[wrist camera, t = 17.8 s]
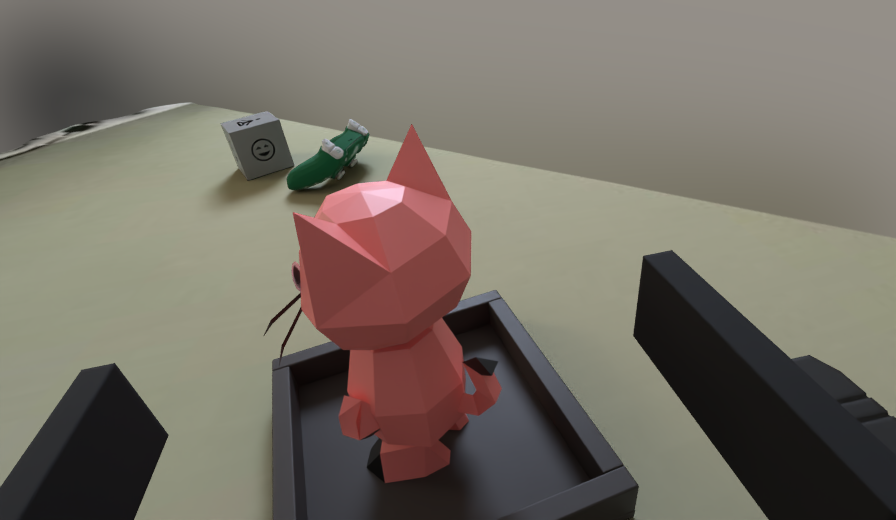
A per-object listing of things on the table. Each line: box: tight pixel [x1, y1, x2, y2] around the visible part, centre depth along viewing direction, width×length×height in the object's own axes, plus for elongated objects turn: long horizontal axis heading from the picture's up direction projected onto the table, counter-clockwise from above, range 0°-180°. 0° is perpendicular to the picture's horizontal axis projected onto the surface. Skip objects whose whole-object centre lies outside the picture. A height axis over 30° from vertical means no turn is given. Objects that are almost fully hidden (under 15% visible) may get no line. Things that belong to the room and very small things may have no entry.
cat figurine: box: [264, 124, 502, 483], centre depth 16 cm, size 7×7×12 cm
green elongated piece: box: [287, 119, 369, 190], centre depth 45 cm, size 9×4×6 cm
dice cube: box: [220, 111, 294, 180], centre depth 49 cm, size 5×5×5 cm
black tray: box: [272, 290, 639, 520], centre depth 19 cm, size 12×12×2 cm
